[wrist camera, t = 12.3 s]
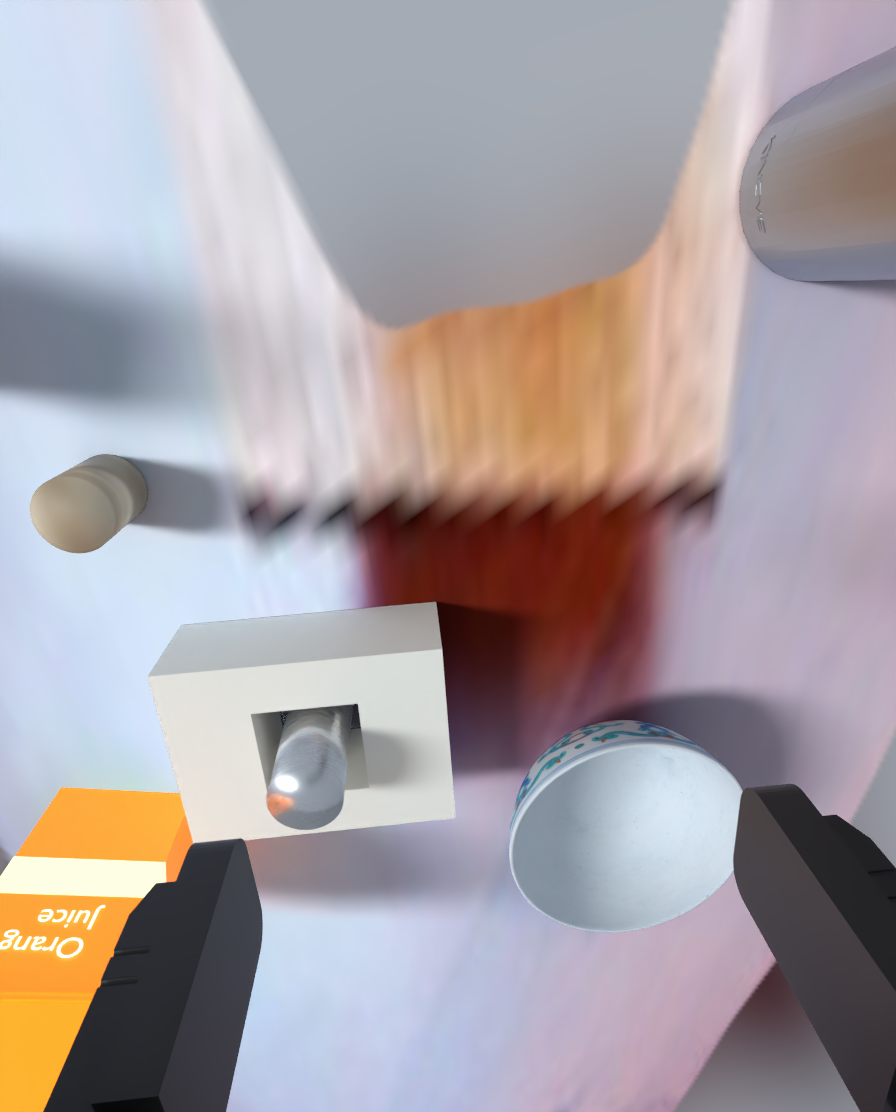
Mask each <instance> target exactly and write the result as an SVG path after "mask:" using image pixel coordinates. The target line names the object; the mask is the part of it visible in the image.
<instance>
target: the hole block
mask: <svg viewBox="0 0 896 1112" xmlns="http://www.w3.org/2000/svg"><path fill="white" fill-rule="evenodd" d="M148 680H149V684H150V688H151V691H152V695H153V698H154V702H155V706H156V709H157V713H158V717H159V720H160V724H161V728H162V731H163V735H164V738H165V742H166V746H167V749H168V753H169V757H170V760H171V764H172V768H173V771H174V775H175V778H176V782H177V786H178V789H179V793H180V797H181V800H182V804H183V808H184V811H185V815H186V818H187V822H188V826H189V829H190V833H191V837H192V840H193V843H199V842H208V841H218V840H228V839H238V838H242V839H243V840H253V839H263V838H272V837H282V836H291V835H301V834H310V833H320V832H329V831H339V830H348V829H358V828H367V827H376V826H386V825H395V824H405V823H414V822H424V821H433V820H443V819H452V818H456V817H455V804H454V792H453V779H452V766H451V754H450V741H449V728H448V716H447V703H446V690H445V678H444V665H443V652H442V643H441V636H440V628H439V620H438V612H437V605H436V602H428V603H417V604H406V605H395V606H384V607H373V608H362V609H351V610H340V611H329V612H319V613H308V614H297V615H286V616H275V617H264V618H253V619H242V620H231V621H220V622H209V623H198V624H187V625H181V626H180V627H179V629H178V630H177V632H176V634H175V635H174V637H173V638H172V640H171V641H170V643H169V644H168V646H167V648H166V649H165V651H164V652H163V654H162V655H161V657H160V658H159V660H158V661H157V663H156V665H155V666H154V668H153V669H152V671H151V672H150V674H149V675H148ZM349 704H358V709H359V716H360V724H361V728H357V729H351V732H350V742H349V752H348V762H347V772H346V782H345V792H344V802H343V807H342V810H341V812H340V814H339V815H338V816H337V817H336V819H334V820H333V821H332V822H331V823H329V824H327V825H326V826H323V827H321V828H317V829H312V830H298V829H293V828H290V827H287V826H285V825H283V824H281V823H280V822H278V821H277V820H276V819H275V818H274V817H273V816H272V815H271V813H270V812H269V810H268V807H267V803H266V795H267V791H268V787H269V783H270V779H271V775H272V771H273V767H274V763H275V759H276V755H277V752H278V748H279V744H280V740H281V736H282V732H283V726H282V721H281V716H280V711H288V710H298V709H308V708H318V707H329V706H339V705H349Z"/></svg>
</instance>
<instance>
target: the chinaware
mask: <svg viewBox="0 0 896 1112" xmlns="http://www.w3.org/2000/svg"><path fill="white" fill-rule="evenodd" d="M742 792H743V789H742V788H741V786H740V784H739V783H738V781H737V780H736V778H735V777H734V776H733V775H732V774H731V772H730V771H729V770H728V769H727V768H726V767H725V766H724V765H723V764H722V763H721V762H719V761H718V760H717V759H716V758H715V757H714V756H712V755H711V754H710V753H709V752H707V751H706V750H705V749H703V748H702V747H701V746H699V745H698V744H696V743H695V742H693V741H691V740H690V739H688V738H686V737H684V736H682V735H680V734H678V733H676V732H674V731H672V730H669V729H667V728H664V727H661V726H658V725H655V724H651V723H646V722H640V721H632V720H613V721H605V722H599V723H595V724H591V725H588V726H585V727H582V728H580V729H577V730H575V731H573V732H571V733H569V734H567V735H566V736H564V737H562V738H561V739H559V740H558V741H557V742H555V743H554V744H553V745H552V746H550V747H549V748H548V749H547V750H546V751H545V752H544V753H543V754H542V755H541V756H540V757H539V758H538V760H537V761H536V762H535V763H534V765H533V766H532V768H531V769H530V771H529V772H528V774H527V776H526V778H525V779H524V781H523V783H522V786H521V788H520V790H519V793H518V796H517V799H516V802H515V806H514V810H513V814H512V819H511V827H510V838H509V858H510V866H511V870H512V874H513V877H514V880H515V882H516V884H517V886H518V888H519V890H520V891H521V893H522V894H523V896H524V897H525V898H526V899H527V901H528V902H529V903H530V904H531V905H532V906H533V907H534V908H536V909H537V910H538V911H539V912H541V913H542V914H544V915H545V916H547V917H548V918H550V919H552V920H554V921H556V922H558V923H561V924H563V925H566V926H569V927H572V928H576V929H580V930H585V931H592V932H605V933H613V932H627V931H634V930H640V929H644V928H648V927H652V926H656V925H659V924H662V923H665V922H667V921H670V920H672V919H674V918H677V917H679V916H681V915H683V914H685V913H686V912H688V911H690V910H692V909H693V908H695V907H697V906H698V905H700V904H701V903H702V902H704V901H705V900H706V899H708V898H709V897H710V896H711V895H713V894H714V893H715V892H716V891H717V890H718V889H719V888H720V887H721V886H722V885H723V884H724V883H725V882H726V881H727V879H728V878H729V877H730V876H731V874H732V873H733V871H734V868H733V854H734V846H735V838H736V830H737V822H738V814H739V806H740V799H741V794H742Z"/></svg>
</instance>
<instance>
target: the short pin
mask: <svg viewBox="0 0 896 1112" xmlns="http://www.w3.org/2000/svg"><path fill="white" fill-rule="evenodd" d="M147 500H148V487H147V483H146V481H145V478H144V476H143V475H142V473H141V472H140V471H139V469H138V468H137V467H136V466H135V465H133V464H132V463H131V462H129V461H128V460H126V459H124V458H121V457H119V456H115V455H109V454H103V455H97V456H94V457H91V458H89V459H87V460H85V461H84V462H82V463H80V464H78V465H76V466H74V467H73V468H71V469H69V470H67V471H65V472H63V473H62V474H60V475H58V476H56V477H54V478H52V479H51V480H49V481H47V482H45V483H44V484H42V485H41V486H40V487H39V488H38V489H37V490H36V491H35V493H34V494H33V496H32V499H31V503H30V515H31V519H32V522H33V524H34V526H35V528H36V530H37V531H38V532H39V534H40V535H41V536H42V537H43V538H44V539H45V540H46V541H47V542H49V543H50V544H51V545H53V546H55V547H56V548H59V549H61V550H64V551H67V552H72V553H87V552H91V551H94V550H96V549H98V548H100V547H102V546H103V545H104V544H105V543H106V542H107V541H109V540H110V539H111V538H112V537H113V536H114V535H116V534H117V533H118V532H119V531H120V530H121V529H122V528H124V527H125V526H126V525H127V524H128V523H129V522H131V521H132V520H133V519H134V518H135V517H136V516H137V515H139V514H140V513H141V512H142V510H143V509H144V507H145V506H146V503H147Z"/></svg>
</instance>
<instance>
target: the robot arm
mask: <svg viewBox="0 0 896 1112" xmlns="http://www.w3.org/2000/svg"><path fill="white" fill-rule="evenodd" d="M740 217H741V222H742V227H743V232H744V234H745V236H746V239H747V241H748V243H749V245H750V248H751V249H752V251H753V252H754V253H755V255H756V256H757V257H758V259H759V260H760V261H761V262H762V263H763V264H764V265H765V266H767V267H768V268H769V269H770V270H772V271H773V272H774V273H777V274H779V275H781V276H784V277H786V278H788V279H793V280H799V281H843V280H848V281H859V280H896V47H894V48H892V49H890V50H888V51H886V52H884V53H882V54H880V55H878V56H875V57H873V58H871V59H869V60H867V61H865V62H863V63H861V64H859V65H857V66H855V67H852V68H850V69H848V70H846V71H844V72H842V73H840V74H838V75H836V76H834V77H832V78H830V79H828V80H826V81H824V82H822V83H820V84H818V85H816V86H814V87H812V88H810V89H808V90H806V91H805V92H803V93H801V94H799V95H798V96H796V97H794V98H792V99H791V100H790V101H789V102H788V103H787V104H785V105H784V106H783V107H782V108H781V109H780V110H778V111H777V112H776V113H775V115H774V116H773V117H772V118H771V119H770V121H769V122H768V123H767V124H766V126H765V127H764V128H763V129H762V131H761V133H760V134H759V136H758V138H757V140H756V141H755V143H754V145H753V147H752V148H751V151H750V153H749V156H748V159H747V162H746V164H745V167H744V170H743V175H742V181H741V186H740ZM733 868H734V874H735V879H736V883H737V886H738V889H739V892H740V895H741V897H742V899H743V901H744V903H745V905H746V907H747V908H748V910H749V912H750V914H751V916H752V917H753V919H754V921H755V923H756V925H757V926H758V928H759V930H760V932H761V934H762V935H763V937H764V939H765V941H766V943H767V944H768V946H769V948H770V950H771V952H772V953H773V955H774V957H775V959H776V961H777V962H778V964H779V966H780V968H781V970H782V971H783V973H784V975H785V977H786V979H787V980H788V982H789V984H790V986H791V988H792V989H793V991H794V993H795V995H796V997H797V998H798V1000H799V1002H800V1004H801V1006H802V1007H803V1009H804V1011H805V1013H806V1014H807V1016H808V1018H809V1020H810V1022H811V1024H812V1025H813V1027H814V1029H815V1031H816V1033H817V1034H818V1036H819V1038H820V1040H821V1042H822V1043H823V1045H824V1047H825V1049H826V1051H827V1052H828V1054H829V1056H830V1058H831V1060H832V1061H833V1063H834V1065H835V1067H836V1068H837V1070H838V1072H839V1074H840V1076H841V1078H842V1079H843V1081H844V1083H845V1085H846V1086H847V1088H848V1090H849V1092H850V1094H851V1096H852V1097H853V1099H854V1101H855V1102H856V1105H857V1106H858V1108H859V1110H860V1112H896V868H895V867H894V866H893V864H892V863H891V862H890V861H889V860H888V859H887V858H886V856H885V855H884V854H883V853H882V852H881V850H880V849H879V848H878V847H877V846H876V844H875V843H874V842H873V841H872V840H871V839H870V838H869V837H867V836H866V835H865V834H863V833H862V832H860V831H859V830H857V829H856V828H855V827H853V826H852V825H850V824H849V823H847V822H846V821H845V820H843V819H842V818H840V817H839V816H837V815H829V816H822V815H821V814H820V812H819V811H818V810H817V809H816V807H815V806H814V805H813V804H812V802H811V801H810V800H809V799H808V797H807V796H806V795H805V793H804V792H803V791H802V790H801V789H800V788H799V787H798V786H796V785H794V784H785V785H775V786H765V787H756V788H747V789H745V790H744V791H743V792H742V794H741V799H740V806H739V814H738V822H737V830H736V838H735V846H734V854H733ZM261 943H262V910H261V904H260V900H259V896H258V892H257V888H256V884H255V879H254V875H253V871H252V867H251V863H250V859H249V855H248V851H247V847H246V844H245V842H244V840H243V839H242V838H238V839H228V840H218V841H208V842H199V843H193V844H192V845H191V846H190V847H189V849H188V851H187V853H186V856H185V859H184V861H183V864H182V866H181V869H180V872H179V874H178V877H177V880H176V881H174V882H164V883H156V884H155V885H154V886H153V887H152V888H151V890H150V891H149V892H148V893H147V894H146V895H145V897H144V898H143V899H142V900H141V901H140V902H139V904H138V905H137V906H136V907H135V908H134V909H133V911H132V912H131V913H130V914H129V916H128V918H127V921H126V923H125V925H124V927H123V930H122V932H121V934H120V937H119V939H118V941H117V943H116V946H115V948H114V955H113V957H110V960H109V962H108V964H107V966H106V969H105V971H104V973H103V976H102V978H101V985H100V987H97V989H96V992H95V994H94V996H93V999H92V1001H91V1003H90V1005H89V1008H88V1010H87V1012H86V1015H85V1017H84V1019H83V1021H82V1024H81V1026H80V1028H79V1031H78V1033H77V1035H76V1037H75V1040H74V1042H73V1044H72V1047H71V1049H70V1051H69V1054H68V1056H67V1058H66V1060H65V1063H64V1065H63V1067H62V1070H61V1072H60V1074H59V1076H58V1079H57V1081H56V1083H55V1086H54V1088H53V1090H52V1093H51V1095H50V1097H49V1099H48V1102H47V1104H46V1106H45V1108H44V1110H43V1112H226V1109H227V1104H228V1099H229V1095H230V1090H231V1085H232V1081H233V1076H234V1071H235V1067H236V1062H237V1057H238V1053H239V1048H240V1043H241V1039H242V1034H243V1029H244V1025H245V1020H246V1015H247V1011H248V1006H249V1001H250V997H251V992H252V987H253V983H254V978H255V973H256V969H257V964H258V959H259V955H260V949H261Z"/></svg>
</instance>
